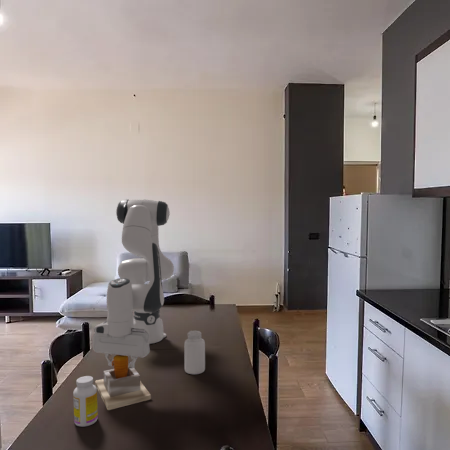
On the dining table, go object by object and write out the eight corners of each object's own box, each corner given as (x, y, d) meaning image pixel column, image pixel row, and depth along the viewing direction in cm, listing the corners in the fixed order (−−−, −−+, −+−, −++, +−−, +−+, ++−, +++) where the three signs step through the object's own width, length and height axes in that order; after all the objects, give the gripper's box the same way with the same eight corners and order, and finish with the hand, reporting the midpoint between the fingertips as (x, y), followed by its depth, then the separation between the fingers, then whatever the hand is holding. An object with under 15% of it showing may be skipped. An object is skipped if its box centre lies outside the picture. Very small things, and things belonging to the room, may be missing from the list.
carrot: (122, 382, 138) (121, 340, 137) (131, 386, 135) (131, 343, 134) (111, 387, 134) (110, 344, 133) (120, 391, 131) (119, 347, 130)
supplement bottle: (100, 415, 120) (99, 374, 119) (94, 427, 113) (93, 384, 112) (78, 415, 119) (77, 374, 119) (70, 428, 113) (69, 384, 112)
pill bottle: (186, 376, 146) (186, 336, 145) (183, 367, 154) (182, 330, 153) (207, 373, 148) (206, 334, 147) (202, 365, 156) (202, 328, 155)
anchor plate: (95, 384, 140) (94, 367, 139) (133, 376, 146) (133, 359, 146) (107, 410, 122) (107, 390, 122) (150, 399, 129) (150, 380, 129)
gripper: (152, 326, 133) (153, 366, 134) (100, 322, 139) (101, 360, 140) (143, 332, 127) (144, 373, 128) (89, 327, 133) (90, 367, 134)
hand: (121, 366), depth 134 cm, fingers open, 6 cm apart
